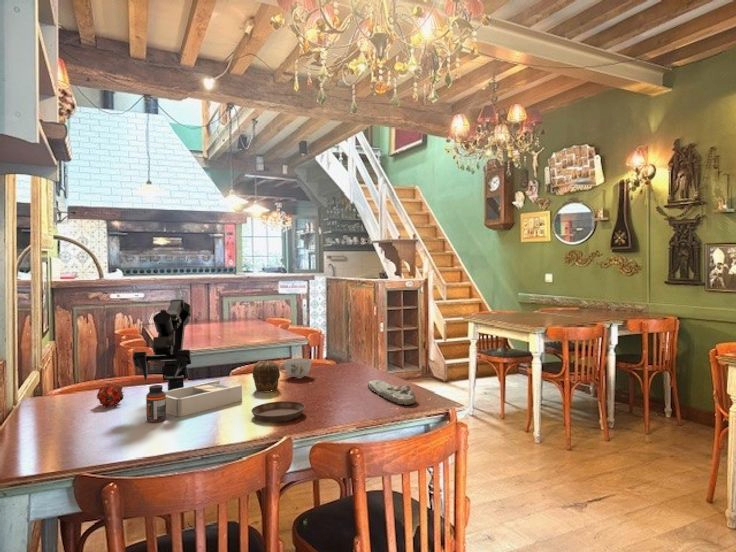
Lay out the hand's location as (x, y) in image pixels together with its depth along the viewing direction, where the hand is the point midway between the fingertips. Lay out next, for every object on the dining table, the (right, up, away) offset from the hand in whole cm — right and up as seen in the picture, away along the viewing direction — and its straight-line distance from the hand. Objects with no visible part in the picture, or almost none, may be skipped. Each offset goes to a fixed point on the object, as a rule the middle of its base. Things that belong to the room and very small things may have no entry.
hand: (159, 378), depth 170 cm
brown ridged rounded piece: (+29, -12, +34) cm, 47 cm away
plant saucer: (+41, -12, -3) cm, 43 cm away
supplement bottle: (+1, -13, -6) cm, 14 cm away
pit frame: (+9, -12, +12) cm, 19 cm away
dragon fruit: (-24, -13, +14) cm, 30 cm away
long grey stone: (+79, -12, +23) cm, 84 cm away
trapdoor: (+13, -10, +16) cm, 23 cm away
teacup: (+38, -12, +58) cm, 70 cm away
